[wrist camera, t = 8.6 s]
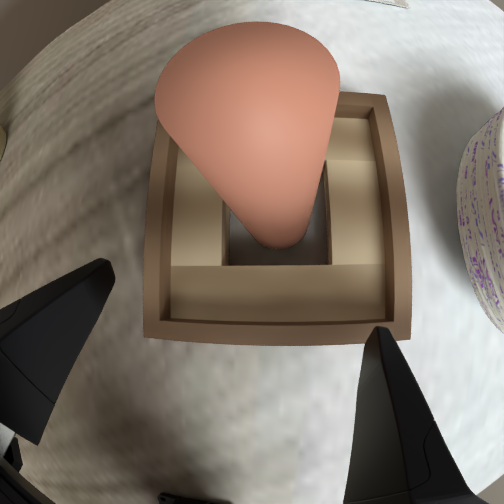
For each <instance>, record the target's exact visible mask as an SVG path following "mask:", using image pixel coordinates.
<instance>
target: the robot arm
mask: <svg viewBox="0 0 504 504" xmlns="http://www.w3.org/2000/svg"><path fill="white" fill-rule="evenodd" d="M114 283H115V274H114V271H113V268H112V265H111V262H110V261H109V260H107V259H104V258H98V259H96V260H94V261H92V262H90V263H88V264H86V265H84V266H82V267H80V268H78V269H76V270H74V271H72V272H70V273H68V274H66V275H64V276H62V277H60V278H58V279H56V280H54V281H52V282H50V283H48V284H46V285H45V286H43V287H41V288H39V289H37V290H35V291H33V292H31V293H30V294H28V295H26V296H24V297H22V298H21V299H19V300H17V301H15V302H13V303H11V304H9V305H8V306H6V307H4V308H2V309H0V504H56V503H54V502H53V501H52V500H50V499H49V498H48V497H47V496H45V495H44V494H43V493H42V492H40V491H39V490H38V489H37V488H35V487H34V486H33V485H32V484H31V483H30V482H28V481H27V480H26V479H25V478H24V477H23V476H22V475H21V474H20V473H19V471H20V469H21V467H22V465H23V463H22V458H21V454H20V449H19V444H18V439H17V438H16V437H15V434H16V433H17V434H18V435H20V436H21V437H23V438H25V439H26V440H28V441H30V442H32V443H33V444H35V445H37V446H38V444H39V442H40V440H41V437H42V434H43V432H44V429H45V427H46V424H47V422H48V420H49V417H50V415H51V413H52V410H53V408H54V406H55V403H56V401H57V399H58V396H59V394H60V392H61V390H62V388H63V386H64V383H65V381H66V379H67V377H68V375H69V373H70V371H71V369H72V367H73V365H74V363H75V361H76V359H77V357H78V355H79V353H80V351H81V349H82V347H83V346H84V344H85V342H86V340H87V338H88V336H89V334H90V333H91V331H92V329H93V327H94V325H95V324H96V322H97V320H98V318H99V316H100V314H101V312H102V309H103V307H104V305H105V303H106V301H107V298H108V296H109V294H110V292H111V290H112V288H113V286H114ZM158 501H159V504H215V503H208V502H203V501H197V500H192V499H187V498H183V497H178V496H174V495H170V494H166V493H160V494H159V495H158ZM343 504H489V503H487V502H486V501H484V500H482V499H481V498H479V497H478V496H476V495H475V494H474V493H473V492H472V491H471V490H470V489H469V487H468V486H467V484H466V482H465V480H464V478H463V476H462V474H461V472H460V470H459V469H458V467H457V465H456V463H455V461H454V459H453V457H452V455H451V453H450V451H449V449H448V447H447V445H446V444H445V441H444V439H443V437H442V435H441V433H440V430H439V428H438V426H437V424H436V421H435V420H434V417H433V415H432V413H431V410H430V408H429V406H428V404H427V402H426V400H425V398H424V395H423V393H422V391H421V389H420V387H419V385H418V383H417V381H416V379H415V377H414V375H413V373H412V371H411V369H410V367H409V365H408V363H407V361H406V359H405V358H404V356H403V354H402V352H401V350H400V348H399V346H398V344H397V342H396V341H395V339H394V337H393V335H392V333H391V332H390V330H389V329H388V328H387V327H383V326H375V327H374V329H373V330H372V332H371V334H370V335H369V337H368V339H367V340H366V342H365V346H364V352H363V359H362V365H361V372H360V378H359V383H358V390H357V401H356V413H355V424H354V434H353V443H352V451H351V458H350V465H349V472H348V478H347V484H346V489H345V495H344V500H343Z"/></svg>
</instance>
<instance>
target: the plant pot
mask: <svg viewBox="0 0 504 504" xmlns="http://www.w3.org/2000/svg"><path fill="white" fill-rule="evenodd" d="M5 145H6V133H5V131H4V130H3V128H2V126H1V125H0V160H1V158H2V155H3V152H4V149H5Z"/></svg>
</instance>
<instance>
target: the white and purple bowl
mask: <svg viewBox="0 0 504 504" xmlns="http://www.w3.org/2000/svg"><path fill="white" fill-rule="evenodd" d="M457 215H458V227H459V235H460V240H461V244H462V249H463V254H464V260H465V264H466V267H467V271H468V275H469V277H470V279H471V282H472V285H473V288H474V291H475V294H476V296H477V298H478V300H479V302H480V305H481V307H482V309H483V310H484V312H485V314H486V315H487V317H488V318H489V319H490V320H491V322H492V323H493V324H494V325H495V326H496V327H497V328H498V329H499V330H500V331H501V332H502V333H504V107H503V108H502V109H501V111H500V112H499V113H497V114H496V115H495V116H494V117H493V118H492V119H490V120H489V121H488V122H487V123H486V124H485V125H484V126H483V127H482V128H481V129H480V130H479V131H478V132H477V133H476V134H474V135H473V137H472V138H471V139H470V140H469V142H468V144H467V146H466V148H465V150H464V152H463V155H462V158H461V162H460V167H459V172H458V178H457Z"/></svg>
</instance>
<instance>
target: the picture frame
mask: <svg viewBox="0 0 504 504" xmlns="http://www.w3.org/2000/svg"><path fill="white" fill-rule="evenodd" d="M322 173H323V175H324V189H325V204H326V224H327V251H328V265H275V266H229V226H230V208H229V207H228V205H227V204H226V203H225V202H224V201H223V199H222V198H221V197H220V196H219V194H218V193H217V192H216V191H215V190H214V188H213V187H212V186H211V185H210V183H209V182H208V181H207V180H206V179H205V177H204V176H203V175H202V174H201V172H200V171H199V170H198V169H197V168H196V166H195V165H194V164H193V163H192V162H191V160H190V159H189V158H188V157H187V155H186V154H185V153H184V152H183V151H182V149H181V148H180V147H179V146H178V145H177V143H176V142H175V141H174V140H173V139H172V137H171V136H170V135H169V134H168V133H167V131H166V130H165V129H164V127H163V126H162V124H161V123H160V121H159V119H158V123H157V129H156V135H155V141H154V148H153V155H152V163H151V171H150V180H149V189H148V199H147V211H146V224H145V241H144V265H143V329H144V337H146V338H154V339H164V340H174V341H185V342H198V343H213V344H231V345H260V346H316V345H345V344H363V343H365V342H366V340H367V339H368V337H369V335H370V334H371V332H372V330H373V329H374V327H375V326H383V327H387V328H388V329H389V330H390V332H391V333H392V335H393V337H394V339H395V341H400V340H410V338H411V318H412V266H411V246H410V232H409V221H408V211H407V202H406V194H405V187H404V180H403V174H402V168H401V162H400V156H399V151H398V146H397V141H396V136H395V132H394V127H393V123H392V119H391V115H390V111H389V107H388V103H387V100H386V96H385V95H379V94H368V93H355V92H339V96H338V101H337V106H336V111H335V115H334V120H333V125H332V129H331V134H330V139H329V143H328V147H327V152H326V156H325V161H324V165H323V169H322Z"/></svg>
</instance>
